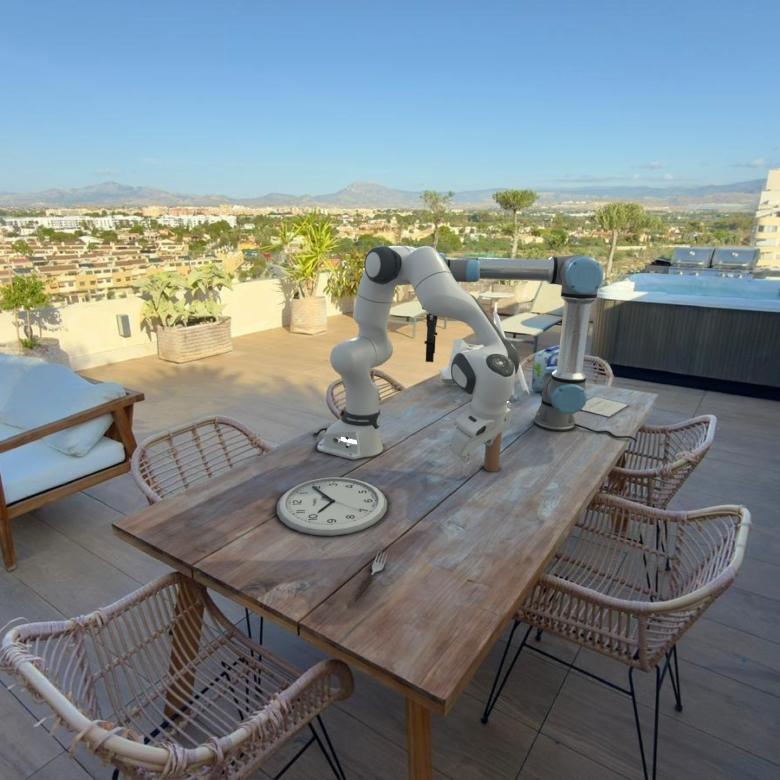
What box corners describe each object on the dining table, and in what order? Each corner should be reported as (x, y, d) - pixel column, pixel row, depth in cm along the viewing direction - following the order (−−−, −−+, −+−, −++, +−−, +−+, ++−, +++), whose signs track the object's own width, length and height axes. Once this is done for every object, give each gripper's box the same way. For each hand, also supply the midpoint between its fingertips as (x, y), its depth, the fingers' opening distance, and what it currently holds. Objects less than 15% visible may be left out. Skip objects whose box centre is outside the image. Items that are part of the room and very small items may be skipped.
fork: (349, 601, 106) (348, 593, 105) (377, 557, 120) (377, 550, 120) (360, 605, 105) (360, 596, 105) (388, 560, 119) (388, 552, 119)
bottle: (484, 464, 169) (488, 412, 164) (499, 466, 168) (503, 414, 163) (483, 470, 165) (487, 417, 160) (497, 472, 164) (502, 419, 159)
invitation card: (608, 416, 214) (573, 407, 224) (608, 416, 214) (573, 408, 224) (628, 404, 229) (594, 396, 238) (628, 405, 229) (594, 397, 238)
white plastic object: (461, 429, 252) (437, 405, 227) (444, 352, 274) (420, 323, 250) (535, 404, 240) (518, 377, 215) (510, 326, 262) (492, 293, 237)
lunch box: (548, 398, 236) (553, 353, 229) (527, 393, 243) (531, 349, 237) (575, 387, 253) (581, 344, 247) (555, 382, 260) (560, 341, 254)
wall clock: (392, 527, 129) (268, 531, 127) (391, 533, 130) (269, 537, 127) (383, 473, 158) (282, 475, 155) (383, 478, 158) (282, 480, 156)
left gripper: (503, 392, 140) (492, 429, 149) (450, 422, 129) (442, 460, 137) (521, 404, 137) (509, 442, 145) (469, 436, 125) (459, 475, 134)
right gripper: (424, 293, 195) (422, 349, 202) (419, 302, 172) (417, 365, 178) (444, 294, 195) (441, 350, 201) (442, 303, 171) (439, 366, 177)
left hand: (476, 451), depth 141 cm, fingers open, 8 cm apart
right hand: (430, 357), depth 190 cm, fingers open, 13 cm apart
